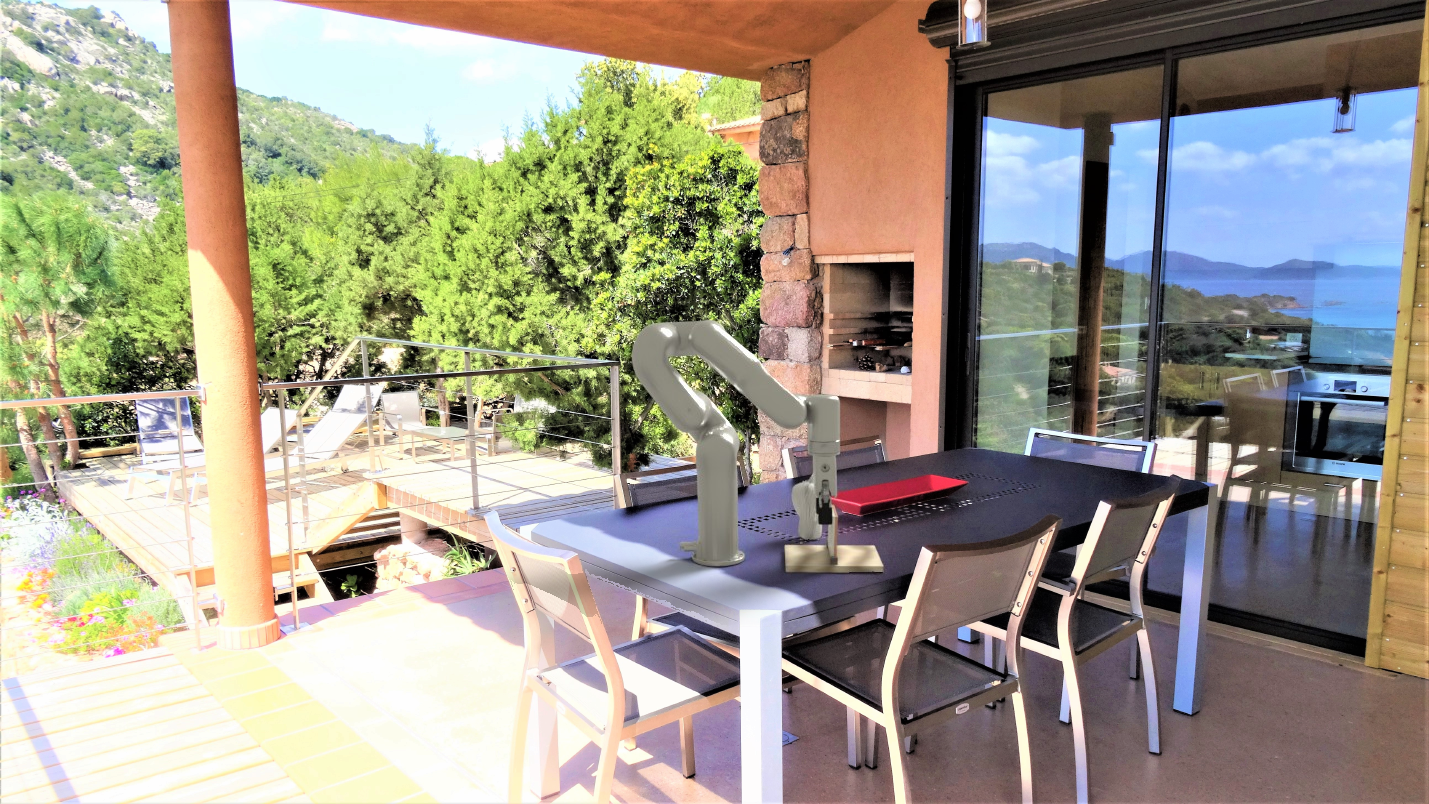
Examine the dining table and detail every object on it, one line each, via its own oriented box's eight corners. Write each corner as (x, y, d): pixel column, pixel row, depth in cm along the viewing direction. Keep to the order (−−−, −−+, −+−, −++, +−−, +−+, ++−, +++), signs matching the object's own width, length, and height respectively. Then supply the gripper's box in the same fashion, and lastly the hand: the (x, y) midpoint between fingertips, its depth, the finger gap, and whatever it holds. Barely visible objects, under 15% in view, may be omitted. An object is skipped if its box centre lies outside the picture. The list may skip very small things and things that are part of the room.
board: (785, 571, 197) (785, 558, 196) (784, 550, 214) (784, 538, 213) (883, 572, 195) (883, 559, 195) (874, 551, 212) (874, 539, 212)
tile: (832, 516, 197) (837, 516, 197) (829, 504, 209) (834, 504, 209) (831, 561, 198) (836, 561, 198) (827, 546, 210) (832, 547, 210)
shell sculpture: (801, 544, 219) (801, 474, 217) (790, 535, 227) (790, 468, 225) (832, 541, 222) (832, 472, 220) (819, 533, 230) (819, 466, 228)
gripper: (843, 453, 193) (843, 528, 195) (837, 441, 210) (837, 510, 212) (809, 453, 193) (809, 528, 195) (806, 441, 210) (806, 510, 212)
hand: (824, 519), depth 203 cm, fingers open, 9 cm apart
